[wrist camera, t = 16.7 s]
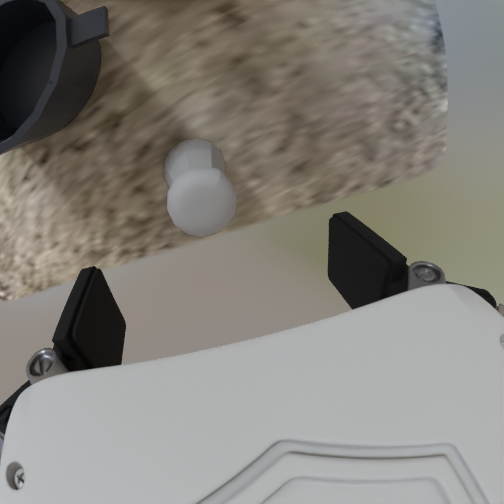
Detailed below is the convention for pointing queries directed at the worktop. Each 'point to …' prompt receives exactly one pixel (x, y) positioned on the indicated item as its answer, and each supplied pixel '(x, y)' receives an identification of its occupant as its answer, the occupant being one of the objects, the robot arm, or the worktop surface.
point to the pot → (45, 67)
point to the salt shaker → (198, 188)
